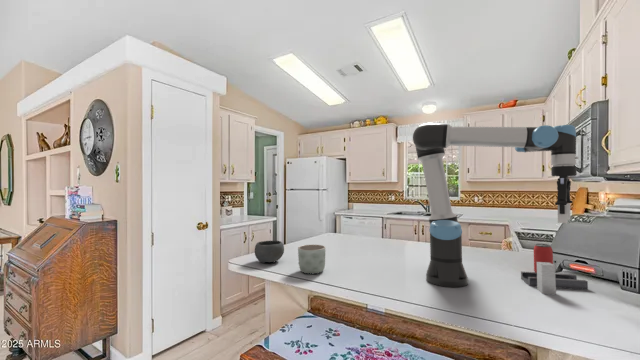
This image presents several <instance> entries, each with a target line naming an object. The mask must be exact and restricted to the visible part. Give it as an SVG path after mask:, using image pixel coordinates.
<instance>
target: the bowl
mask: <svg viewBox="0 0 640 360" xmlns="http://www.w3.org/2000/svg"><path fill="white" fill-rule="evenodd" d="M284 253H285V245H284V243H283V242H282V241H280V240H264V241H258V242H257V243H256V244H255V246H254V255H255V258H256V260H257V261H259V262H260V263H263V262H273V263H275V262H274V261H276V262H277V261H279V260H280V259H281V258H282V257H283V255H284Z"/></svg>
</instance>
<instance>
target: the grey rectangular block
mask: <svg viewBox="0 0 640 360" xmlns="http://www.w3.org/2000/svg"><path fill="white" fill-rule="evenodd" d="M555 273H556V265H555V264H554V263H553V264H551V263H550V262H537V286H536V287H537V288H536V290H537V291H538V292H539V293H541V294H542V295H557V293H556V292H557V291H556V290H557V288H556V280H555Z"/></svg>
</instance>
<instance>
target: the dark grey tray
mask: <svg viewBox="0 0 640 360" xmlns="http://www.w3.org/2000/svg"><path fill="white" fill-rule="evenodd" d="M520 279H521V280H522V281H523V282H524V283H525V284H527V285H528V286H529V287H537V272H535V271H520ZM555 280H556V289H568V288H572V289H571V290H584V291H587V290H589V287H588V285H589V284H588V283H589V282H588V281H587V280H586V279H577V275H576V274H575V273H556V272H555Z"/></svg>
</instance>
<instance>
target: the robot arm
mask: <svg viewBox="0 0 640 360" xmlns="http://www.w3.org/2000/svg"><path fill="white" fill-rule="evenodd" d="M577 138H578V137H577V131H576V127H575V126H574V125H573V124H561V125H555V126H552V125H549V124H548V125H540V126H533V127H532V126H528V127H527V126H457V125H456V126H453V125H450V124H449V123H435V122H427V123H423V124H420V125H419V126H417V127H416V128H415V130H413V133H412V142H413V144H414V146H415V151H416V152H415V153H416V157H417V160H418V161H420V162H421V165H422V170H423V175H424V180H425V181H424V182H425V186H426V190H427V191H426V192H427V197H428V202H429V208H430V213H431V215H430V216H429V217H428V222H429V228H428V229H429V230H428V231H429V246H430V247H429V248H430V249H429V250H430V251H429V252H430V255H429V257H430V260H429V264H428V267H427V270H426V273H425V274H426V275H425V277H426V278H425V279H426V282H428V283H430V284H433V285H436V286H440V287H446V288H460V287H465V286H467V285H468V284H469V282H468V281H469V278H468V275H467V272H466V270H465V266H464V263H463V235H462V234H463V228H462V225H461V223H460V222H459V221H458V216H457V214H456V213H454V212H453V209H452V204H451V199H450V193H449V188H448V184H447V183H448V182H447V177H446V171H445V167H444V161H443V157H444V156H445V155H446V153H445V151H446V150H445V149H447V148H448V147H451V146H452V147H489V148H491V147H492V148H514V149H515V151H516V152H518V153H528V152H529V153H532V152H533V153H534V152H551V153H550V166H551V167H550V168H551V170H550V171H551V176H552V177H558V178H557V181H556V189H557V200H556V202H554V205H555V206H557V223H559V224H568V221H570V220H571V204H573V200H571V184H572V181H571V179H570V178H569V177H576V176H577V174H578V173H577V172H578V171H577V166H576V165H577V160H579V156H577Z"/></svg>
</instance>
